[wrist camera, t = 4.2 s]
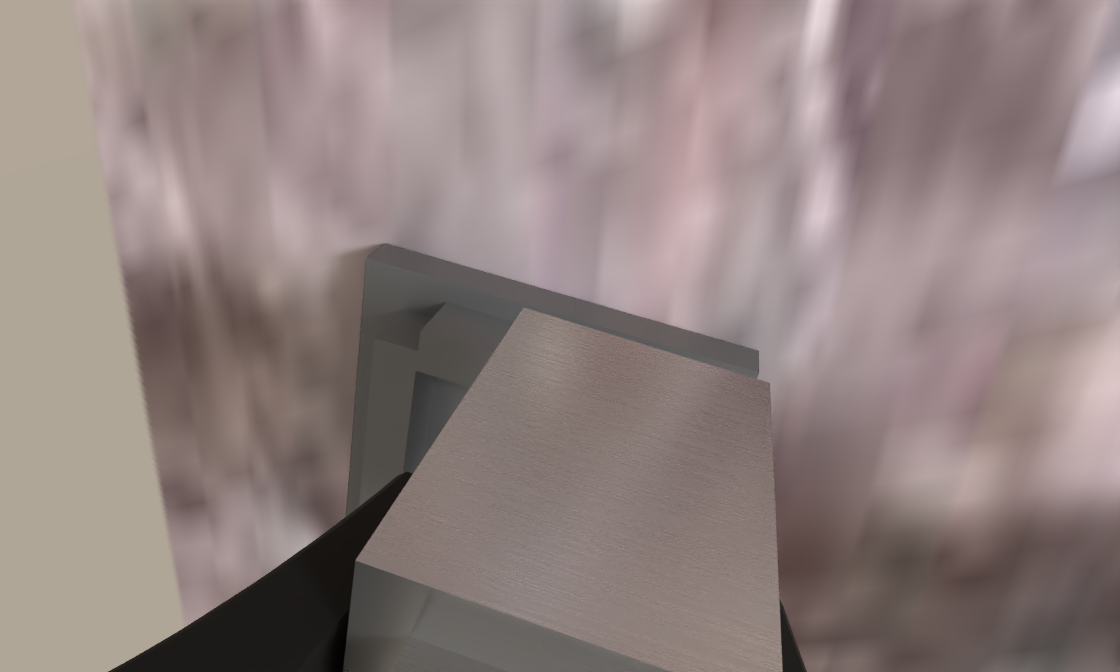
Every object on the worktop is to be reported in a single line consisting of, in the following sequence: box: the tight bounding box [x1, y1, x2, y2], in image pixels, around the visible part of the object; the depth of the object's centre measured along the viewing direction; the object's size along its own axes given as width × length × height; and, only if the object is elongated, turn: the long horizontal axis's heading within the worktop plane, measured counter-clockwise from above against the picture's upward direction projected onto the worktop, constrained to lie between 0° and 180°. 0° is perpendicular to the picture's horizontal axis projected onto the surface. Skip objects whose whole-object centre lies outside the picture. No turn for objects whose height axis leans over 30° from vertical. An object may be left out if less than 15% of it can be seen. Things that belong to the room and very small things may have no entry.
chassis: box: [346, 244, 759, 517], centre depth 19 cm, size 9×15×2 cm, turn 168°
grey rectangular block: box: [343, 308, 783, 672], centre depth 9 cm, size 4×4×6 cm
